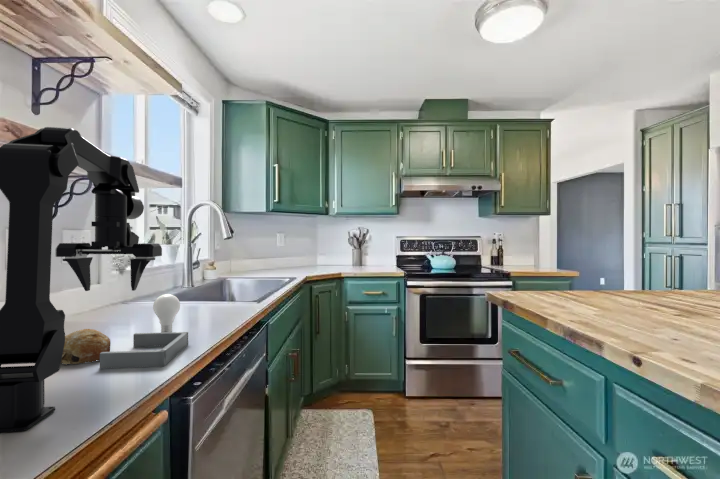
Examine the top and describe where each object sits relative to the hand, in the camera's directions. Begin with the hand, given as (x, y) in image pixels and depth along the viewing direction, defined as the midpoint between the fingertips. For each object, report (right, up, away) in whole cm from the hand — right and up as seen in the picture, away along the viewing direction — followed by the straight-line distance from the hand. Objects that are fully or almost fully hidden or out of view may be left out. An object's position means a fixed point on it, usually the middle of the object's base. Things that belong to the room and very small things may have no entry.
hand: (110, 290), depth 82 cm
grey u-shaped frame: (+7, -15, +3) cm, 16 cm away
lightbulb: (+2, -15, +19) cm, 24 cm away
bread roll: (-6, -15, +1) cm, 16 cm away
